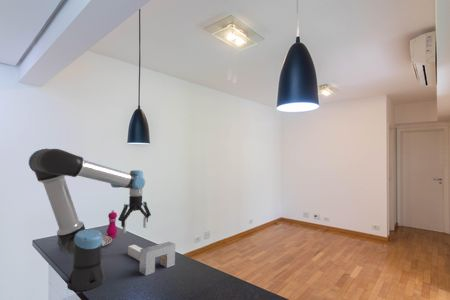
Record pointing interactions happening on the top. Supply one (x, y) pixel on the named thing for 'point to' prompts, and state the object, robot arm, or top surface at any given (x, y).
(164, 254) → the grey arch-shaped block
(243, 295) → the top surface
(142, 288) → the top surface
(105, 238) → the dinner plate
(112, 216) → the pepper mill
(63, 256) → the top surface
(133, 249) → the white and orange bar
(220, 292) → the top surface
